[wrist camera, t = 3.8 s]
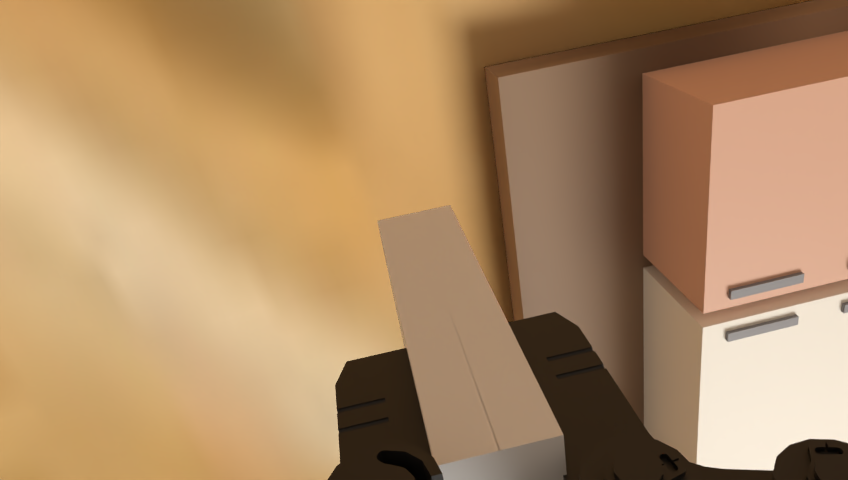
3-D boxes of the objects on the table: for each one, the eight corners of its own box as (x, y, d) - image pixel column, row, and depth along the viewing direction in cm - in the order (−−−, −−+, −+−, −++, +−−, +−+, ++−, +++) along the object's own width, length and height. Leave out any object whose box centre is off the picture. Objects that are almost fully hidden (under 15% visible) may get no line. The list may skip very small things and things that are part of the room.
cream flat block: (644, 534, 23) (691, 617, 20) (643, 267, 18) (705, 330, 15) (878, 471, 24) (953, 543, 21) (939, 198, 19) (1049, 245, 16)
